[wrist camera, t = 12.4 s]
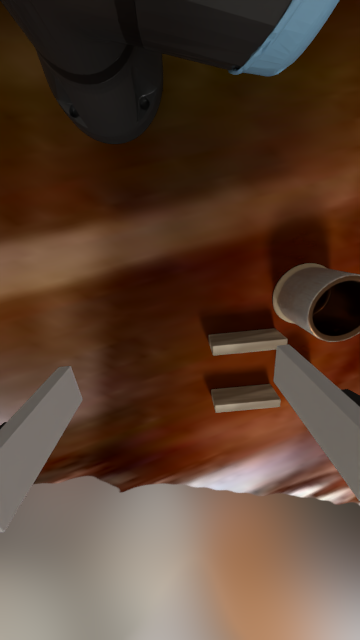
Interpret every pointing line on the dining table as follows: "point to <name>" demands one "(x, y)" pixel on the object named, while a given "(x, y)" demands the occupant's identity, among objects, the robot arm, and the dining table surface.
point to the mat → (280, 284)
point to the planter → (323, 302)
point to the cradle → (247, 394)
